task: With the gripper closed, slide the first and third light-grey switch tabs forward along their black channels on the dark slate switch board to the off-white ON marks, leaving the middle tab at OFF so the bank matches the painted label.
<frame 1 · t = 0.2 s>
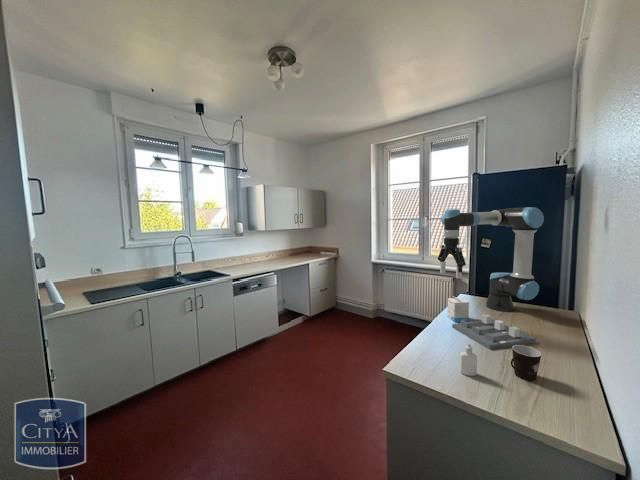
hand: (450, 275, 144), 28 cm above the counter, fingers open, 13 cm apart
coffee mug: (520, 376, 98), on the counter
eye dropper bottle: (467, 373, 100), on the counter
tab 3: (514, 331, 125), point 4 cm above the counter, slide at 0.0 cm
ink box: (457, 319, 152), on the counter
switch board: (491, 334, 132), on the counter
tab 2: (499, 325, 133), point 4 cm above the counter, slide at 0.0 cm
tab 1: (486, 319, 140), point 4 cm above the counter, slide at 0.0 cm
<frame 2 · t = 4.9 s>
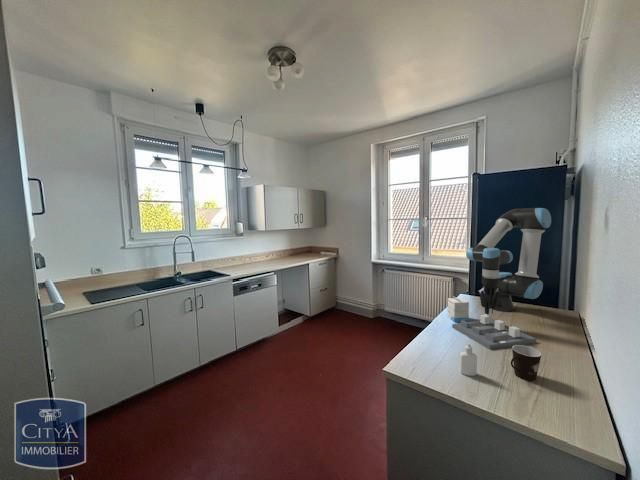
hand: (488, 319, 141), 4 cm above the counter, fingers closed
tab 1: (484, 319, 140), point 4 cm above the counter, slide at 1.1 cm, touching gripper
everything else where it was.
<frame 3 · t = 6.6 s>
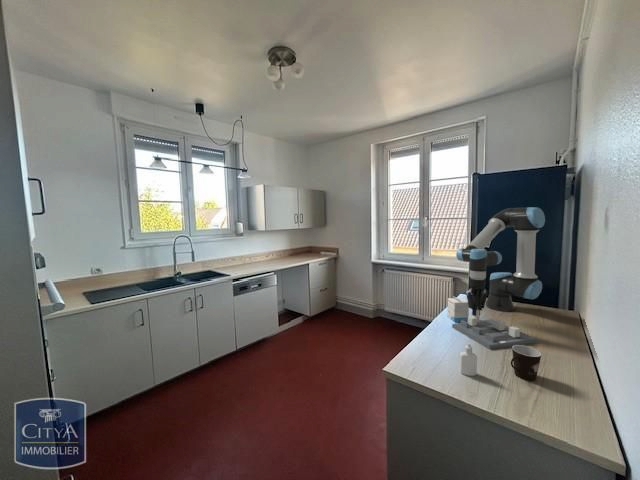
hand: (475, 321, 139), 4 cm above the counter, fingers closed
tab 1: (472, 320, 139), point 4 cm above the counter, slide at 9.0 cm, touching gripper
everything else where it was.
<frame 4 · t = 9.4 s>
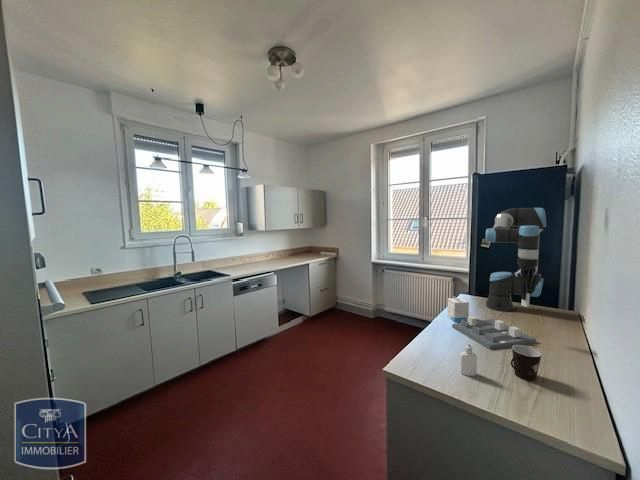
hand: (525, 305, 126), 17 cm above the counter, fingers closed
tab 1: (472, 320, 139), point 4 cm above the counter, slide at 9.2 cm
everything else where it was.
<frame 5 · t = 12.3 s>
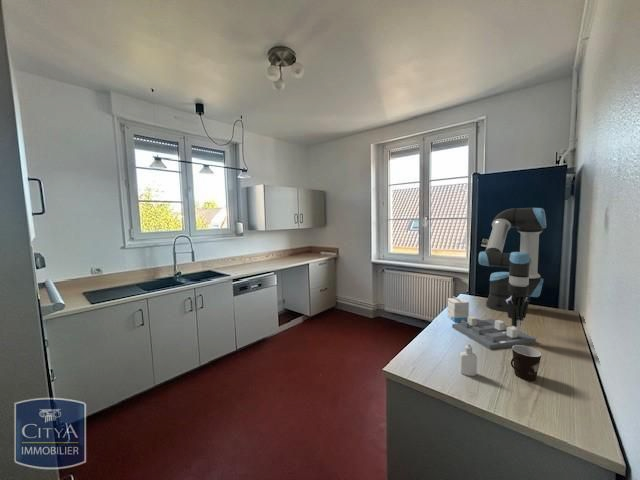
hand: (516, 332, 125), 4 cm above the counter, fingers closed
tab 3: (512, 332, 125), point 4 cm above the counter, slide at 1.3 cm, touching gripper
everything else where it was.
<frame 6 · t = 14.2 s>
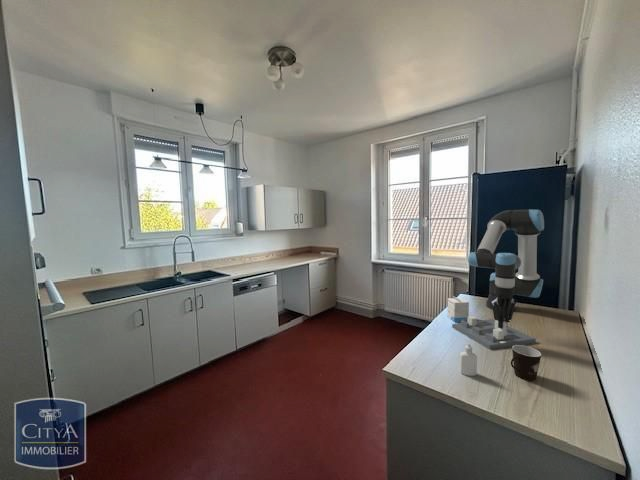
hand: (502, 334, 123), 4 cm above the counter, fingers closed
tab 3: (498, 334, 123), point 4 cm above the counter, slide at 9.2 cm, touching gripper
everything else where it was.
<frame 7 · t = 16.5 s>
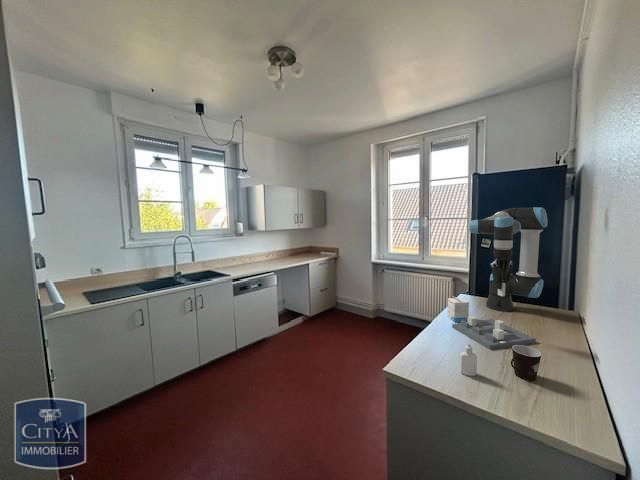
hand: (501, 295, 129), 21 cm above the counter, fingers closed
tab 3: (498, 334, 123), point 4 cm above the counter, slide at 9.2 cm
everything else where it was.
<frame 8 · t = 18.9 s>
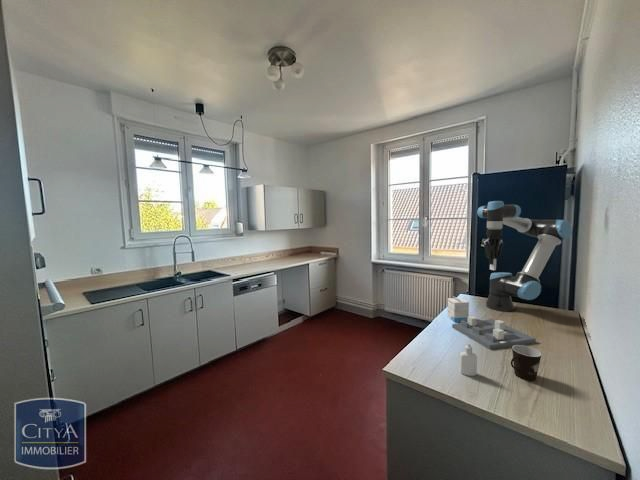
hand: (492, 269, 148), 29 cm above the counter, fingers closed
nothing on the counter moved.
at the end: tab 1 slide at 9.2 cm; tab 3 slide at 9.2 cm; tab 2 slide at 0.0 cm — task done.
